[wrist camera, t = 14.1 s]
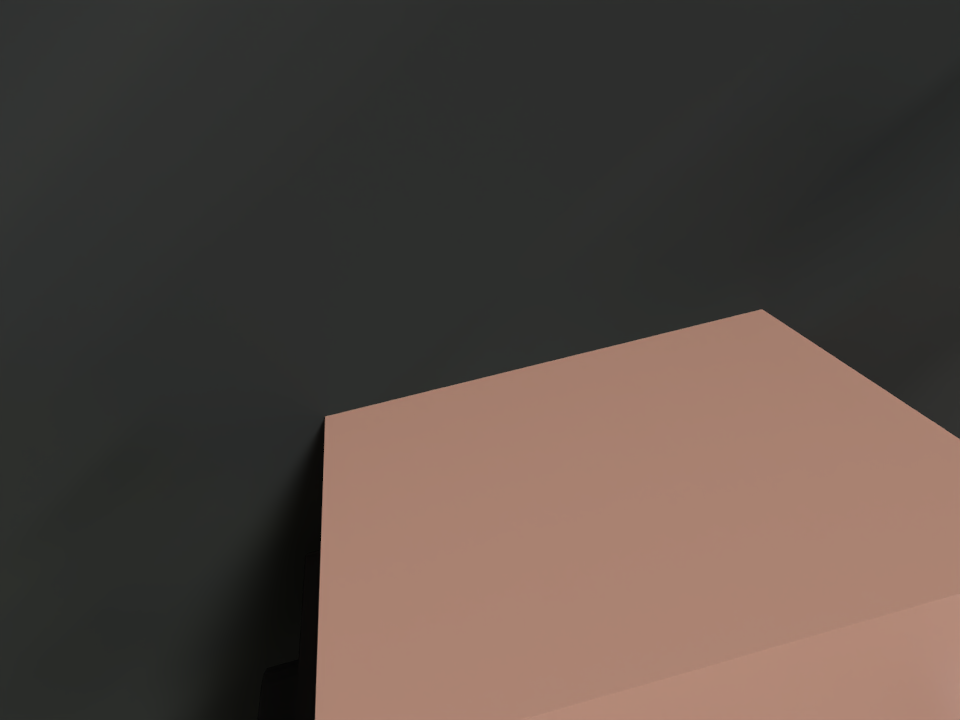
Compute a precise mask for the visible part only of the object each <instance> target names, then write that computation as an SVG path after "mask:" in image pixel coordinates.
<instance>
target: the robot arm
mask: <svg viewBox="0 0 960 720" xmlns="http://www.w3.org/2000/svg"><path fill="white" fill-rule="evenodd" d="M320 558H321V550H319V551H315V552H311V553H307V555H306V558H305V569H304V585H303V601H302V617H301V633H300V649H299V660H296V661H292V662H289V663H285V664H281V665H278V666H274V667H270V668H267V670H266V671H265V673H264V676H263V681H262V686H261V694H260V703H259V711H258V720H315V706H316V676H317V647H318V617H319V588H320Z"/></svg>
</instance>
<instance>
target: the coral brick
mask: <svg viewBox="0 0 960 720" xmlns="http://www.w3.org/2000/svg"><path fill="white" fill-rule="evenodd" d="M315 720H960V439H958V438H957V437H955V436H954V435H952V434H951V433H949V432H948V431H946V430H945V429H943V428H942V427H940V426H939V425H937V424H936V423H934V422H933V421H931V420H930V419H928V418H927V417H925V416H924V415H922V414H920V413H919V412H917V411H916V410H914V409H913V408H911V407H910V406H908V405H907V404H905V403H904V402H902V401H901V400H899V399H898V398H896V397H895V396H893V395H892V394H890V393H889V392H887V391H885V390H884V389H882V388H881V387H879V386H878V385H876V384H875V383H873V382H872V381H870V380H869V379H867V378H866V377H864V376H863V375H861V374H860V373H858V372H857V371H855V370H854V369H852V368H850V367H849V366H847V365H846V364H844V363H843V362H841V361H840V360H838V359H837V358H835V357H834V356H832V355H831V354H829V353H828V352H826V351H825V350H823V349H822V348H820V347H819V346H817V345H816V344H814V343H812V342H811V341H809V340H808V339H806V338H805V337H803V336H802V335H800V334H799V333H797V332H796V331H794V330H793V329H791V328H790V327H788V326H787V325H785V324H784V323H782V322H781V321H779V320H777V319H776V318H774V317H773V316H771V315H770V314H768V313H767V312H765V311H764V310H762V309H761V310H757V311H753V312H749V313H745V314H741V315H737V316H733V317H729V318H725V319H721V320H717V321H713V322H708V323H704V324H700V325H696V326H692V327H688V328H684V329H680V330H676V331H672V332H668V333H664V334H660V335H656V336H652V337H647V338H643V339H639V340H635V341H631V342H627V343H623V344H619V345H615V346H611V347H607V348H603V349H599V350H595V351H591V352H586V353H582V354H578V355H574V356H570V357H566V358H562V359H558V360H554V361H550V362H546V363H542V364H538V365H534V366H529V367H525V368H521V369H517V370H513V371H509V372H505V373H501V374H497V375H493V376H489V377H485V378H481V379H477V380H473V381H468V382H464V383H460V384H456V385H452V386H448V387H444V388H440V389H436V390H432V391H428V392H424V393H420V394H416V395H412V396H407V397H403V398H399V399H395V400H391V401H387V402H383V403H379V404H375V405H371V406H367V407H363V408H359V409H355V410H351V411H346V412H342V413H338V414H334V415H330V416H326V417H325V439H324V469H323V499H322V528H321V558H320V588H319V617H318V647H317V676H316V706H315Z"/></svg>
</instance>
